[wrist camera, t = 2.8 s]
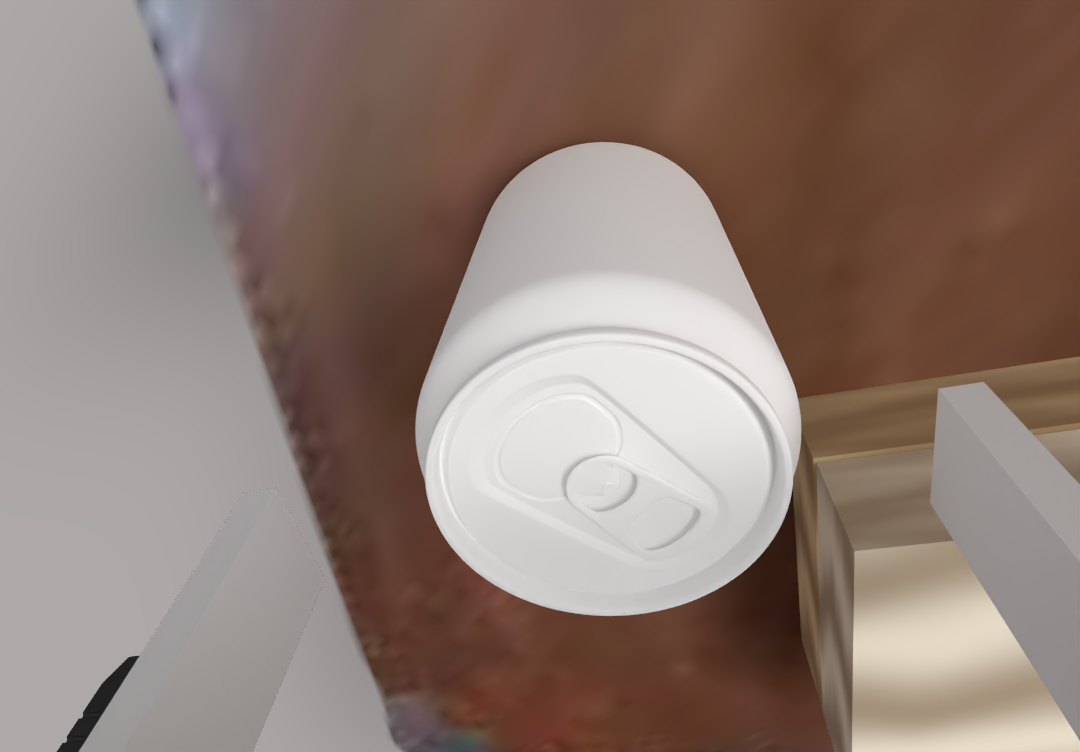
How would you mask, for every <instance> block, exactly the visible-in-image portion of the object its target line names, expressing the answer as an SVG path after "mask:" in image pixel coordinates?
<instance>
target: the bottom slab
mask: <svg viewBox="0 0 1080 752" xmlns="http://www.w3.org/2000/svg"><path fill="white" fill-rule="evenodd" d="M979 382H984V383H985V384H986V385H987V386H988V387H989V388H990V389H991V390H992V391H993V392H994V393H995V394H996V395H997V397H998V398H999V399H1000V400H1001V401H1002V402H1003V403H1004V404H1005V405H1006V406H1007V407H1008V408H1009V409H1010V410H1011V412H1012V413H1013V414H1014V415H1015V416H1016V417H1017V418H1018V419H1019V420H1020V421H1021V422H1022V423H1023V424H1024V425H1025V427H1026V428H1027V429H1028V430H1029V431H1030V432H1031V433H1032V434H1033V435H1038V434H1046V433H1054V432H1062V431H1070V430H1078V429H1080V357H1074V358H1067V359H1060V360H1054V361H1047V362H1040V363H1033V364H1027V365H1020V366H1013V367H1006V368H999V369H993V370H986V371H979V372H972V373H965V374H959V375H952V376H945V377H938V378H932V379H925V380H918V381H911V382H904V383H898V384H891V385H884V386H877V387H870V388H864V389H857V390H850V391H843V392H837V393H830V394H823V395H816V396H809V397H803V398H798V401H799V407H800V414H801V446H800V453H799V459H798V463H797V467H796V470H795V473H794V476H793V498H794V516H795V533H796V551H797V569H798V587H799V605H800V623H801V640H802V643H803V646H804V650H805V653H806V656H807V660H808V663H809V666H810V670H811V673H812V676H813V680H814V683H815V686H816V690H817V693H818V696H819V699H820V703H821V706H822V675H821V634H820V593H819V550H818V507H817V464H816V463H818V462H826V461H834V460H841V459H849V458H857V457H865V456H873V455H881V454H889V453H897V452H904V451H912V450H920V449H928V448H934V441H935V427H936V413H937V399H938V389H939V388H946V387H953V386H959V385H966V384H973V383H979Z"/></svg>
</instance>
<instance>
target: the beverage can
mask: <svg viewBox="0 0 1080 752" xmlns="http://www.w3.org/2000/svg"><path fill="white" fill-rule="evenodd" d="M415 431H416V447H417V454H418V459H419V463H420V467H421V471H422V474H423V477H424V479H425V485H426V492H427V497H428V501H429V505H430V508H431V511H432V514H433V516H434V519H435V521H436V523H437V525H438V527H439V529H440V531H441V533H442V534H443V536H444V537H445V539H446V540H447V542H448V543H449V545H450V546H451V547H452V548H453V550H454V551H455V552H456V553H457V554H458V555H459V556H460V558H461V559H462V560H463V561H464V562H465V563H466V564H468V565H469V566H470V567H471V568H472V569H473V570H474V571H476V572H477V573H478V574H479V575H481V576H482V577H484V578H485V579H486V580H488V581H489V582H491V583H492V584H494V585H496V586H497V587H499V588H501V589H503V590H505V591H506V592H508V593H510V594H512V595H515V596H517V597H519V598H521V599H524V600H526V601H529V602H532V603H535V604H538V605H541V606H544V607H548V608H551V609H556V610H560V611H565V612H570V613H577V614H585V615H598V616H621V615H634V614H643V613H649V612H655V611H660V610H664V609H668V608H672V607H675V606H679V605H682V604H685V603H688V602H690V601H693V600H696V599H698V598H700V597H703V596H705V595H707V594H709V593H711V592H713V591H715V590H717V589H718V588H720V587H722V586H724V585H725V584H727V583H728V582H730V581H731V580H733V579H734V578H736V577H737V576H738V575H740V574H741V573H742V572H743V571H745V570H746V569H747V568H748V567H749V566H750V565H751V564H753V563H754V562H755V561H756V560H757V559H758V558H759V556H760V555H761V554H762V553H763V552H764V551H765V549H766V548H767V547H768V546H769V544H770V543H771V542H772V540H773V539H774V537H775V535H776V534H777V532H778V530H779V528H780V526H781V524H782V522H783V520H784V518H785V515H786V513H787V510H788V506H789V503H790V499H791V494H792V487H793V476H794V473H795V470H796V467H797V463H798V459H799V453H800V446H801V414H800V407H799V401H798V397H797V393H796V390H795V386H794V384H793V381H792V378H791V376H790V374H789V371H788V369H787V367H786V364H785V362H784V360H783V358H782V356H781V353H780V351H779V349H778V347H777V345H776V343H775V340H774V338H773V336H772V334H771V332H770V329H769V327H768V325H767V323H766V321H765V319H764V316H763V314H762V312H761V310H760V308H759V305H758V303H757V301H756V299H755V297H754V294H753V292H752V290H751V288H750V286H749V284H748V281H747V279H746V277H745V275H744V273H743V270H742V268H741V266H740V264H739V262H738V260H737V257H736V255H735V253H734V251H733V249H732V246H731V244H730V242H729V240H728V238H727V236H726V233H725V231H724V229H723V227H722V225H721V222H720V220H719V218H718V216H717V214H716V212H715V210H714V208H713V206H712V204H711V202H710V200H709V199H708V197H707V195H706V194H705V192H704V191H703V190H702V188H701V187H700V186H699V185H698V183H697V182H696V181H695V180H694V179H693V178H692V177H691V176H690V175H689V174H688V173H687V172H685V171H684V170H683V169H682V168H680V167H679V166H678V165H676V164H675V163H673V162H672V161H670V160H669V159H667V158H665V157H663V156H661V155H659V154H657V153H655V152H652V151H650V150H647V149H644V148H641V147H638V146H634V145H629V144H623V143H614V142H593V143H585V144H579V145H574V146H570V147H566V148H563V149H560V150H558V151H555V152H553V153H550V154H548V155H546V156H544V157H542V158H540V159H538V160H537V161H535V162H534V163H532V164H531V165H529V166H528V167H526V168H525V169H524V170H522V171H521V172H520V173H519V174H518V175H517V176H516V177H514V178H513V179H512V180H511V181H510V183H509V184H508V185H507V186H506V187H505V188H504V190H503V191H502V192H501V193H500V195H499V196H498V198H497V199H496V201H495V203H494V204H493V206H492V208H491V210H490V212H489V214H488V216H487V219H486V221H485V224H484V226H483V229H482V231H481V234H480V237H479V239H478V242H477V244H476V247H475V250H474V252H473V255H472V257H471V260H470V263H469V265H468V268H467V270H466V273H465V276H464V278H463V281H462V284H461V286H460V289H459V291H458V294H457V297H456V299H455V302H454V304H453V307H452V310H451V312H450V315H449V317H448V320H447V323H446V325H445V328H444V330H443V333H442V336H441V338H440V341H439V344H438V346H437V349H436V351H435V354H434V357H433V359H432V362H431V364H430V367H429V370H428V372H427V375H426V378H425V380H424V383H423V386H422V389H421V393H420V396H419V401H418V406H417V413H416V427H415Z"/></svg>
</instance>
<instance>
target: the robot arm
mask: <svg viewBox="0 0 1080 752" xmlns="http://www.w3.org/2000/svg"><path fill="white" fill-rule="evenodd" d="M930 504H931V505H932V507H933V509H934V510H935V512H936V513H937V515H938V517H939V518H940V520H941V521H942V523H943V525H944V526H945V528H946V529H947V531H948V532H949V534H950V536H951V537H952V539H953V540H954V542H955V544H956V545H957V547H958V548H959V550H960V552H961V553H962V555H963V556H964V558H965V559H966V561H967V563H968V564H969V566H970V567H971V569H972V571H973V572H974V574H975V575H976V577H977V578H978V580H979V582H980V583H981V585H982V586H983V588H984V590H985V591H986V593H987V594H988V596H989V598H990V599H991V601H992V602H993V604H994V605H995V607H996V609H997V610H998V612H999V613H1000V615H1001V617H1002V618H1003V620H1004V621H1005V623H1006V625H1007V626H1008V628H1009V629H1010V631H1011V632H1012V634H1013V636H1014V637H1015V639H1016V640H1017V642H1018V644H1019V645H1020V647H1021V648H1022V650H1023V652H1024V653H1025V655H1026V656H1027V658H1028V659H1029V661H1030V663H1031V664H1032V666H1033V667H1034V669H1035V671H1036V672H1037V674H1038V675H1039V677H1040V679H1041V680H1042V682H1043V683H1044V685H1045V686H1046V688H1047V690H1048V691H1049V693H1050V694H1051V696H1052V698H1053V699H1054V701H1055V702H1056V704H1057V706H1058V707H1059V709H1060V710H1061V712H1062V713H1063V715H1064V717H1065V718H1066V720H1067V721H1068V723H1069V725H1070V726H1071V728H1072V729H1073V731H1074V733H1075V734H1076V736H1077V737H1078V739H1079V740H1080V484H1079V483H1078V482H1077V481H1076V480H1075V479H1074V478H1073V477H1072V476H1071V475H1070V474H1069V473H1068V471H1067V470H1066V469H1065V468H1064V467H1063V466H1062V465H1061V464H1060V463H1059V462H1058V461H1057V460H1056V459H1055V458H1054V456H1053V455H1052V454H1051V453H1050V452H1049V451H1048V450H1047V449H1046V448H1045V447H1044V446H1043V445H1042V444H1041V443H1040V441H1039V440H1038V439H1037V438H1036V437H1035V436H1034V435H1033V434H1032V433H1031V432H1030V431H1029V430H1028V429H1027V428H1026V427H1025V425H1024V424H1023V423H1022V422H1021V421H1020V420H1019V419H1018V418H1017V417H1016V416H1015V415H1014V414H1013V413H1012V412H1011V410H1010V409H1009V408H1008V407H1007V406H1006V405H1005V404H1004V403H1003V402H1002V401H1001V400H1000V399H999V398H998V397H997V395H996V394H995V393H994V392H993V391H992V390H991V389H990V388H989V387H988V386H987V385H986V384H985V383H984V382H979V383H973V384H966V385H959V386H953V387H946V388H939V389H938V399H937V413H936V427H935V441H934V455H933V469H932V483H931V497H930ZM324 580H325V578H324V576H323V574H322V573H321V571H320V569H319V567H318V565H317V563H316V561H315V559H314V558H313V556H312V554H311V552H310V550H309V548H308V547H307V544H306V543H305V541H304V539H303V537H302V535H301V533H300V531H299V530H298V528H297V526H296V524H295V522H294V520H293V518H292V516H291V515H290V513H289V511H288V509H287V507H286V505H285V503H284V501H283V500H282V498H281V496H280V494H279V493H278V490H277V488H272V489H265V490H259V491H252V492H245V493H243V494H242V496H241V497H240V499H239V500H238V502H237V504H236V505H235V507H234V508H233V510H232V511H231V513H230V515H229V516H228V518H227V519H226V521H225V522H224V524H223V526H222V527H221V529H220V530H219V532H218V534H217V535H216V537H215V538H214V540H213V541H212V543H211V545H210V546H209V548H208V549H207V551H206V552H205V554H204V555H203V557H202V559H201V560H200V562H199V563H198V565H197V566H196V568H195V570H194V571H193V573H192V574H191V576H190V578H189V579H188V581H187V582H186V584H185V585H184V587H183V588H182V590H181V592H180V593H179V595H178V596H177V598H176V599H175V601H174V603H173V604H172V606H171V607H170V609H169V610H168V612H167V614H166V615H165V617H164V618H163V620H162V622H161V623H160V625H159V626H158V628H157V629H156V631H155V632H154V634H153V636H152V637H151V639H150V640H149V642H148V643H147V645H146V647H145V648H144V650H143V651H142V653H141V655H140V656H133V657H129V658H128V659H126V661H125V662H123V663H122V665H120V666H119V668H117V669H116V670H115V671H114V672H113V673H112V674H111V675H110V676H109V677H108V678H107V679H106V680H105V681H104V682H103V683H102V684H101V686H100V688H99V689H98V691H97V692H96V694H95V695H94V697H93V698H92V700H91V701H90V703H89V704H88V706H87V707H86V709H85V710H84V712H83V718H81V719H78V721H77V722H76V724H75V725H74V727H73V728H72V730H71V731H70V733H69V734H68V736H67V742H66V743H62V745H61V746H60V748H59V749H58V751H57V752H253V750H254V748H255V745H256V743H257V741H258V738H259V736H260V733H261V731H262V728H263V726H264V724H265V721H266V719H267V717H268V714H269V712H270V709H271V707H272V705H273V702H274V700H275V698H276V695H277V693H278V690H279V688H280V686H281V683H282V681H283V678H284V676H285V674H286V671H287V669H288V666H289V664H290V661H291V659H292V657H293V654H294V652H295V650H296V647H297V645H298V642H299V640H300V637H301V635H302V633H303V630H304V628H305V626H306V623H307V621H308V618H309V616H310V614H311V611H312V609H313V606H314V604H315V602H316V599H317V597H318V594H319V592H320V590H321V587H322V585H323V582H324Z"/></svg>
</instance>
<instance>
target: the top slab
mask: <svg viewBox="0 0 1080 752" xmlns="http://www.w3.org/2000/svg"><path fill="white" fill-rule="evenodd" d="M1034 436H1035V437H1036V438H1037V439H1038V440H1039V441H1040V443H1041V444H1042V445H1043V446H1044V447H1045V448H1046V449H1047V450H1048V451H1049V452H1050V453H1051V454H1052V455H1053V456H1054V458H1055V459H1056V460H1057V461H1058V462H1059V463H1060V464H1061V465H1062V466H1063V467H1064V468H1065V469H1066V470H1067V471H1068V473H1069V474H1070V475H1071V476H1072V477H1073V478H1074V479H1075V480H1076V481H1077V482H1078V483H1079V484H1080V429H1078V430H1070V431H1062V432H1054V433H1046V434H1038V435H1034ZM933 455H934V448H928V449H920V450H912V451H904V452H897V453H889V454H881V455H873V456H865V457H857V458H849V459H841V460H834V461H826V462H818V463H816V464H817V507H818V550H819V593H820V634H821V675H822V711H823V715H824V718H825V721H826V725H827V728H828V731H829V735H830V738H831V741H832V745H833V748H834V752H1080V740H1079V739H1078V737H1077V736H1076V734H1075V733H1074V731H1073V729H1072V728H1071V726H1070V725H1069V723H1068V721H1067V720H1066V718H1065V717H1064V715H1063V713H1062V712H1061V710H1060V709H1059V707H1058V706H1057V704H1056V702H1055V701H1054V699H1053V698H1052V696H1051V694H1050V693H1049V691H1048V690H1047V688H1046V686H1045V685H1044V683H1043V682H1042V680H1041V679H1040V677H1039V675H1038V674H1037V672H1036V671H1035V669H1034V667H1033V666H1032V664H1031V663H1030V661H1029V659H1028V658H1027V656H1026V655H1025V653H1024V652H1023V650H1022V648H1021V647H1020V645H1019V644H1018V642H1017V640H1016V639H1015V637H1014V636H1013V634H1012V632H1011V631H1010V629H1009V628H1008V626H1007V625H1006V623H1005V621H1004V620H1003V618H1002V617H1001V615H1000V613H999V612H998V610H997V609H996V607H995V605H994V604H993V602H992V601H991V599H990V598H989V596H988V594H987V593H986V591H985V590H984V588H983V586H982V585H981V583H980V582H979V580H978V578H977V577H976V575H975V574H974V572H973V571H972V569H971V567H970V566H969V564H968V563H967V561H966V559H965V558H964V556H963V555H962V553H961V552H960V550H959V548H958V547H957V545H956V544H955V542H954V540H953V539H952V537H951V536H950V534H949V532H948V531H947V529H946V528H945V526H944V525H943V523H942V521H941V520H940V518H939V517H938V515H937V513H936V512H935V510H934V509H933V507H932V505H931V504H930V497H931V483H932V469H933Z"/></svg>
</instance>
